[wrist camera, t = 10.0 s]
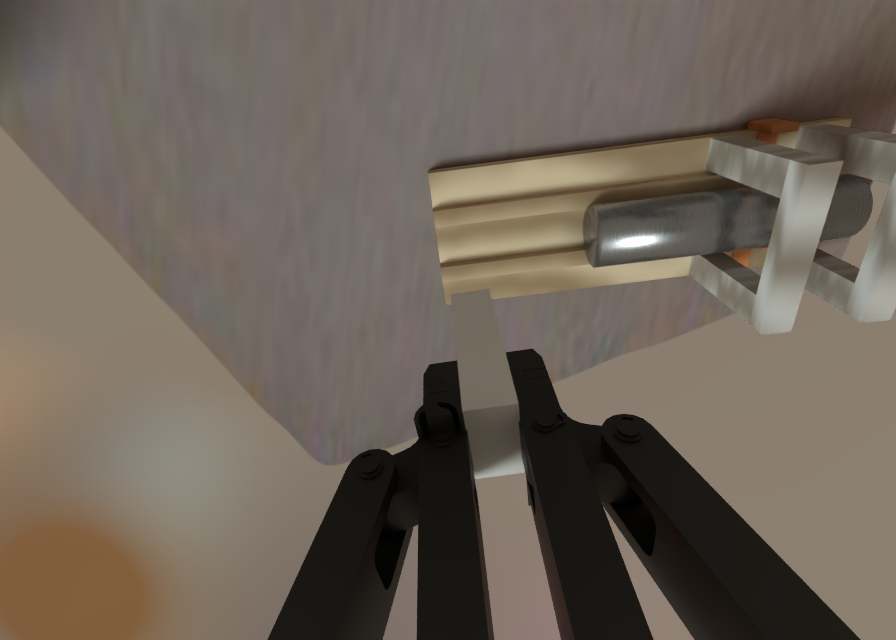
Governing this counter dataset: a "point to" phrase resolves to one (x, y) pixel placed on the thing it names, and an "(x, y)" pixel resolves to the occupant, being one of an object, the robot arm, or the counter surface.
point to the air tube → (707, 223)
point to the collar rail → (669, 173)
